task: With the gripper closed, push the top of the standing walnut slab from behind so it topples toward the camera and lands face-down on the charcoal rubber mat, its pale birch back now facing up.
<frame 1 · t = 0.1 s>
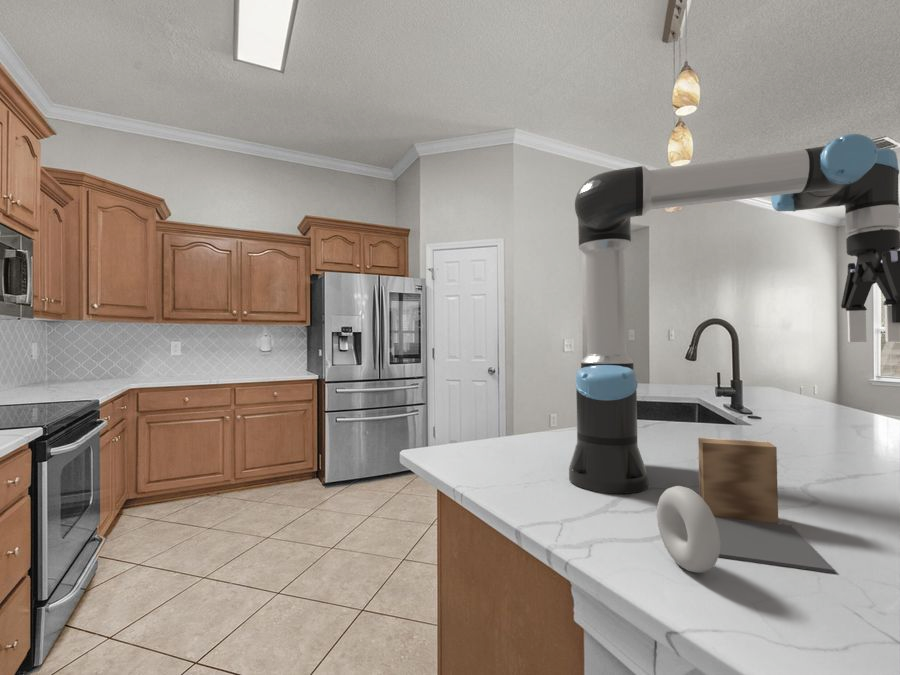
hand: (875, 342, 84), 28 cm above the countertop, fingers open, 13 cm apart
donut: (687, 569, 55), on the countertop
slab: (737, 516, 71), on the countertop
mat: (754, 540, 62), on the countertop
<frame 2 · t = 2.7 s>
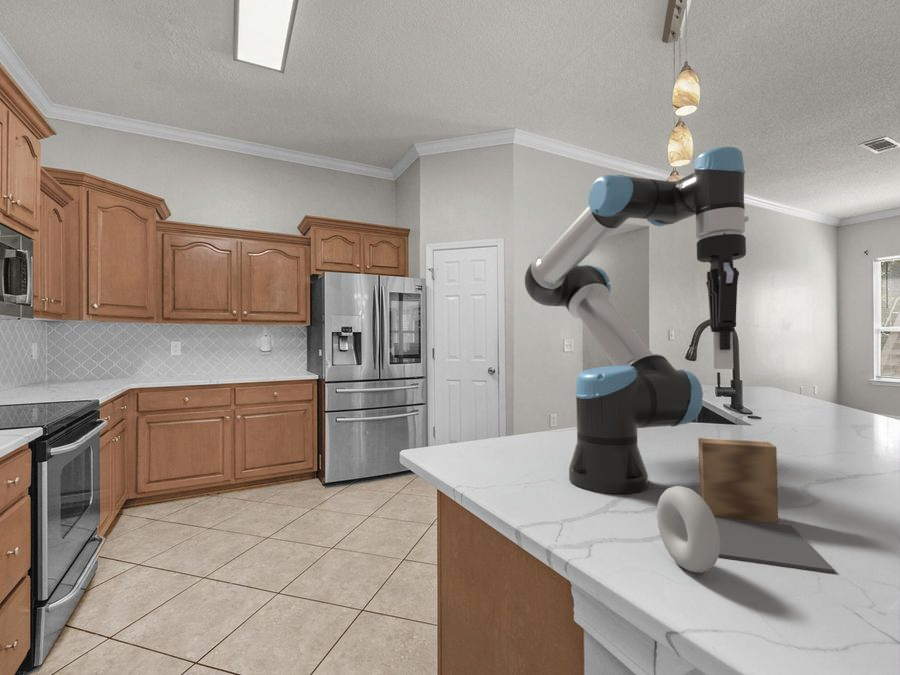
hand: (723, 368, 78), 24 cm above the countertop, fingers closed
nothing on the countertop moved.
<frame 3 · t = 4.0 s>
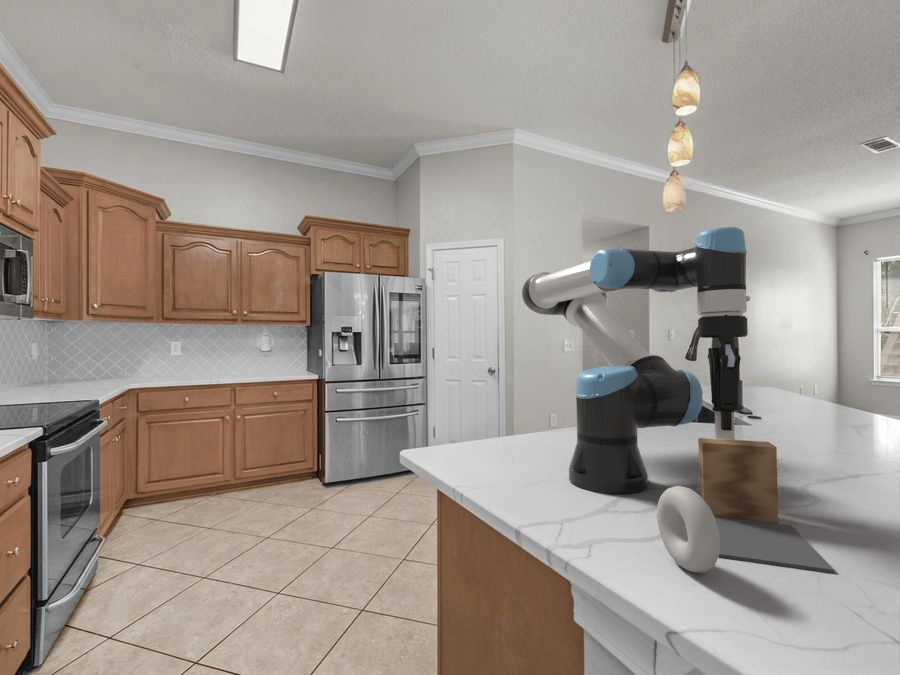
hand: (725, 447, 78), 9 cm above the countertop, fingers closed
nothing on the countertop moved.
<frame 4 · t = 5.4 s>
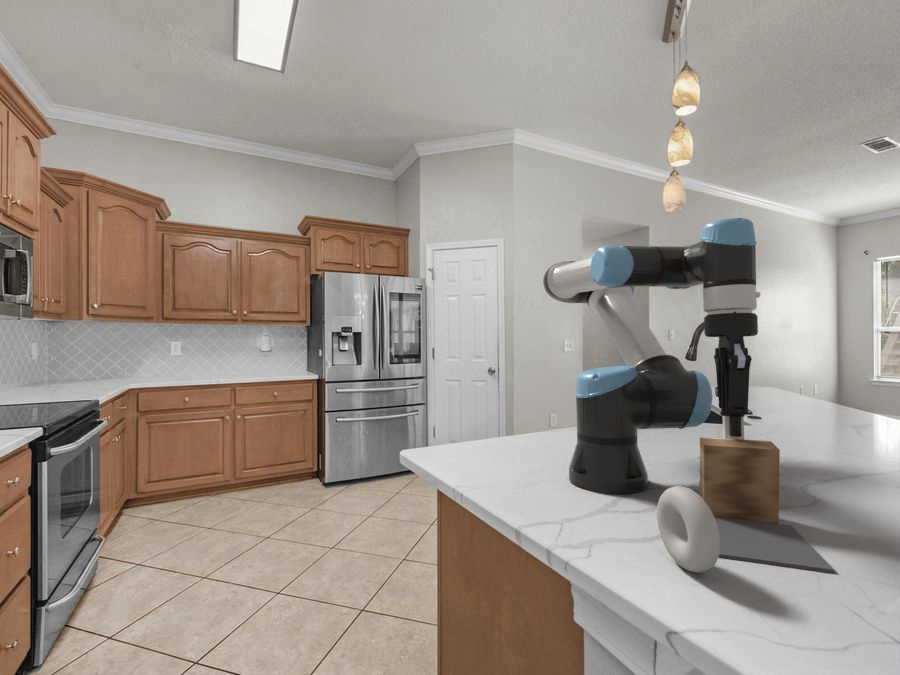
hand: (733, 454, 72), 10 cm above the countertop, fingers closed
slab: (737, 515, 71), on the countertop, tilted 7°, touching gripper
everything else where it was.
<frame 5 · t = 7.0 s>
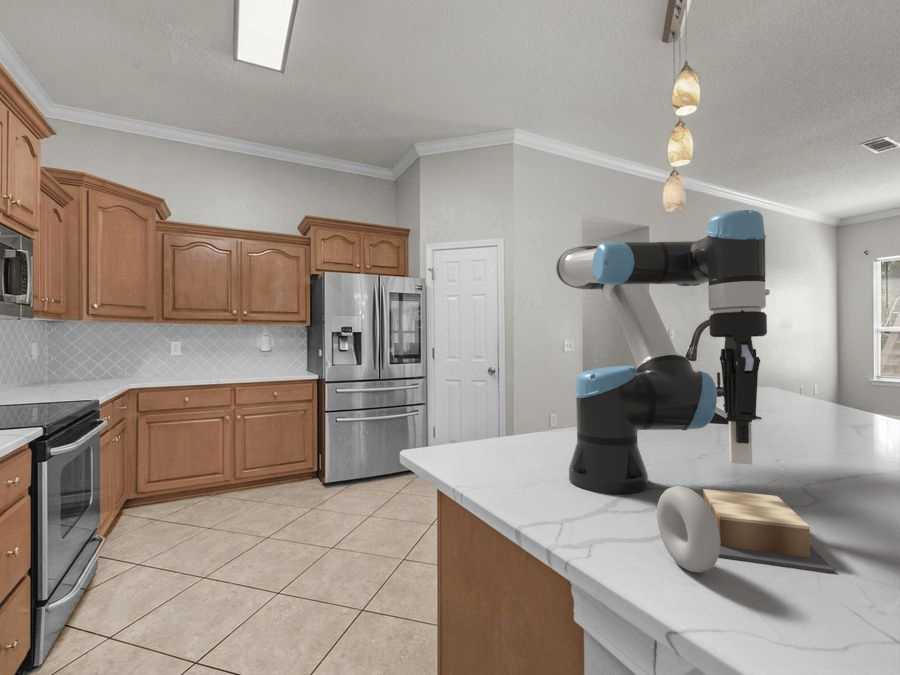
hand: (740, 462, 68), 9 cm above the countertop, fingers closed
slab: (739, 505, 69), point 2 cm above the countertop, tilted 90°, touching mat
everything else where it was.
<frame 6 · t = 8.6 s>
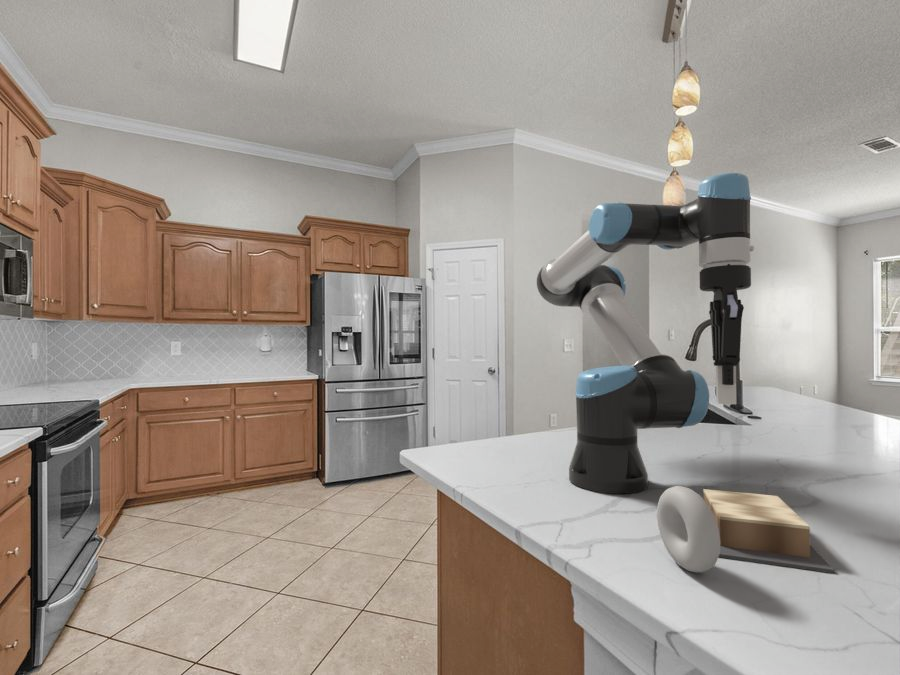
hand: (726, 403, 75), 18 cm above the countertop, fingers closed
nothing on the countertop moved.
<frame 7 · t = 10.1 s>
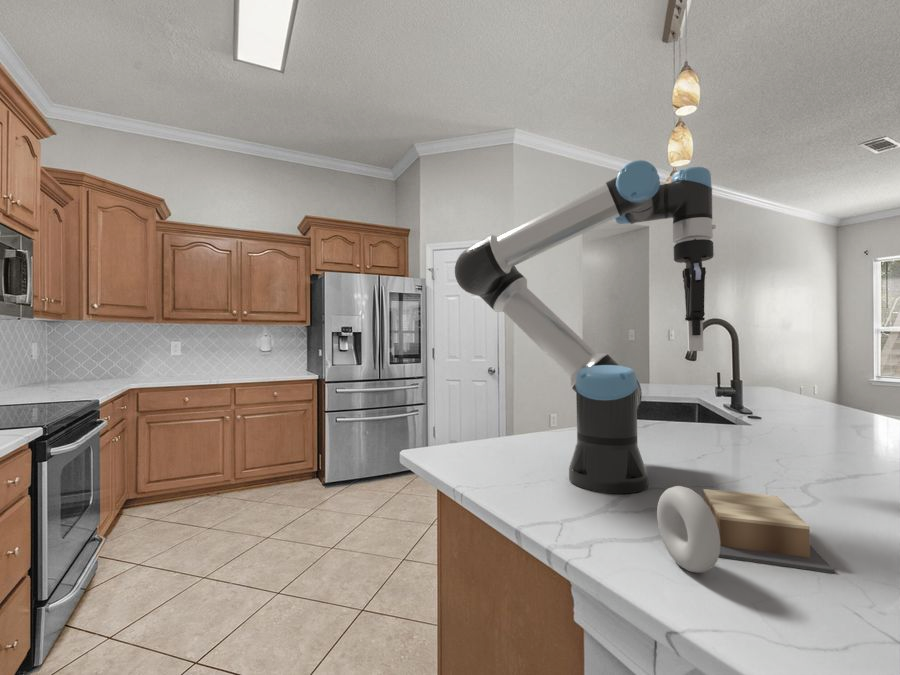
hand: (695, 350, 94), 26 cm above the countertop, fingers closed
nothing on the countertop moved.
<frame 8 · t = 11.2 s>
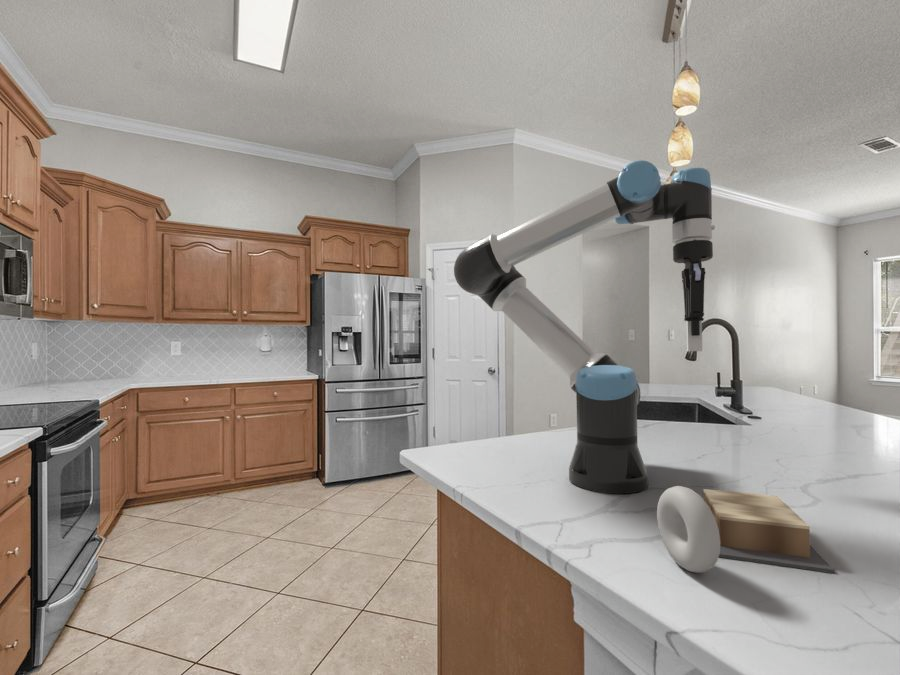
hand: (694, 351, 94), 26 cm above the countertop, fingers closed
nothing on the countertop moved.
at the end: slab tilted 90°; slab inside the target area on the mat (4.7 cm from its centre), point 2.4 cm above the mat's base; slab touching mat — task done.
